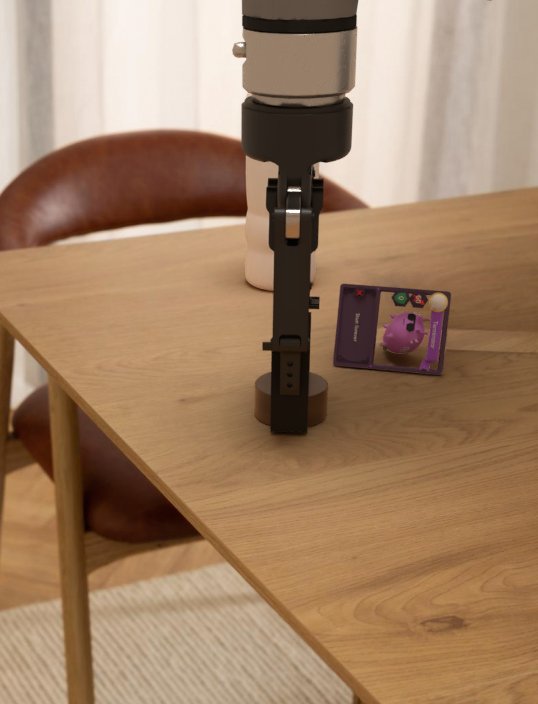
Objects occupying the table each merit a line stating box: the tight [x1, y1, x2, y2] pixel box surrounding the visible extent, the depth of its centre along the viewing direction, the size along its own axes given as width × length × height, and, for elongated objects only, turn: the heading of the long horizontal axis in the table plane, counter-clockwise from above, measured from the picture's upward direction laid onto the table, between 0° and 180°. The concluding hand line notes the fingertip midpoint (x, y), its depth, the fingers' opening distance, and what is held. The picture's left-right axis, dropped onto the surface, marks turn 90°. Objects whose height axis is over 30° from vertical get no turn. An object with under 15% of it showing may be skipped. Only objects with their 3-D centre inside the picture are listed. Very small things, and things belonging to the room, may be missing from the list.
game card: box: [332, 283, 452, 376], centre depth 99 cm, size 7×5×9 cm
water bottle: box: [244, 92, 320, 292], centre depth 113 cm, size 7×7×25 cm
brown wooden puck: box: [253, 371, 329, 428], centre depth 90 cm, size 6×6×2 cm
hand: (290, 409), depth 90 cm, fingers open, 6 cm apart
